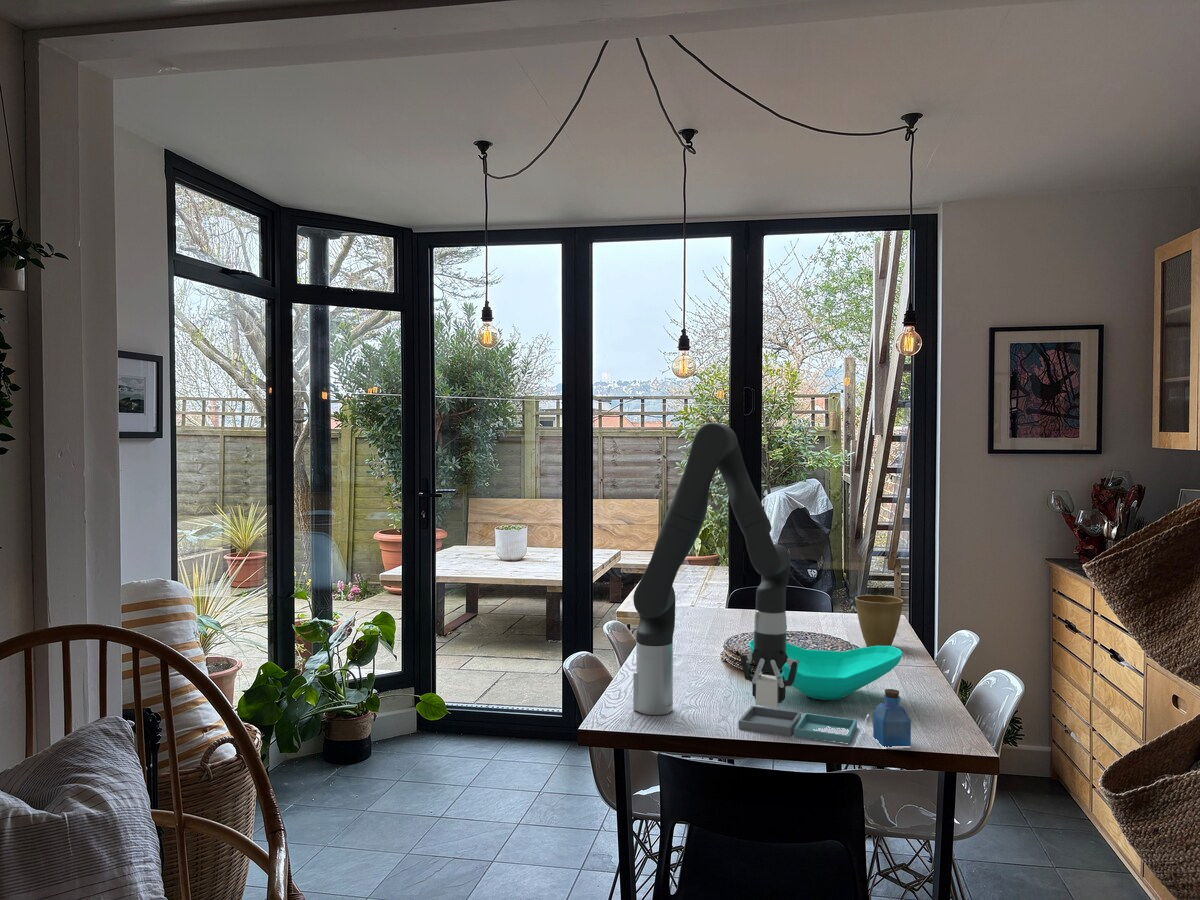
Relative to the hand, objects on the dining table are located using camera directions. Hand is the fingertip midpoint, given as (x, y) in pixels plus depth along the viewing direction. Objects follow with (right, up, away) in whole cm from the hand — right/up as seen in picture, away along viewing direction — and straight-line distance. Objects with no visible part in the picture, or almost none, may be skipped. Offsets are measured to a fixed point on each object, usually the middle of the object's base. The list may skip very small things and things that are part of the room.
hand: (768, 699), depth 203 cm
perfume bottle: (+25, -7, -11) cm, 29 cm away
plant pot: (+51, -5, +76) cm, 92 cm away
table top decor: (+19, -6, +23) cm, 31 cm away
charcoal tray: (0, -6, 0) cm, 6 cm away
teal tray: (+12, -6, -5) cm, 15 cm away
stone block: (0, -1, 0) cm, 1 cm away
